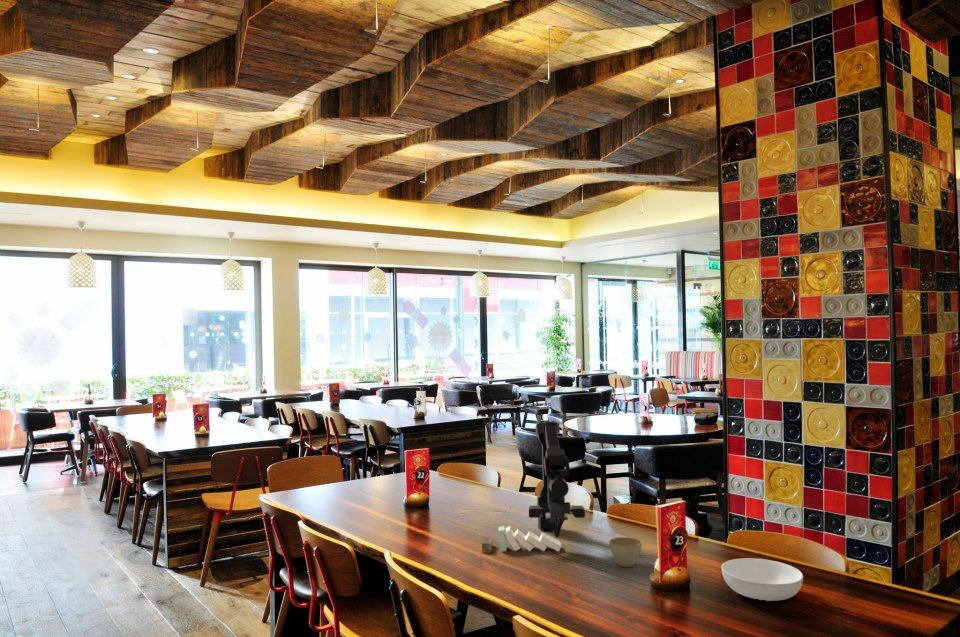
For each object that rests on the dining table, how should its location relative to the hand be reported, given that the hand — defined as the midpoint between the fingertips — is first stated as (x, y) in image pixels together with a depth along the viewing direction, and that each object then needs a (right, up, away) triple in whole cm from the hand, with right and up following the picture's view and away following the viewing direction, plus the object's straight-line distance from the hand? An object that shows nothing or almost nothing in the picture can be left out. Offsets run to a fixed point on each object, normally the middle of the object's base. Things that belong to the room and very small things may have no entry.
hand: (556, 537), depth 238 cm
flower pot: (+20, -4, -16) cm, 26 cm away
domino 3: (-4, -3, 0) cm, 5 cm away
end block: (-23, -4, +2) cm, 24 cm away
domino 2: (-9, -3, +1) cm, 9 cm away
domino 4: (+1, -3, 0) cm, 3 cm away
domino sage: (-18, -4, +1) cm, 18 cm away
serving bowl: (+52, -3, -44) cm, 68 cm away
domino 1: (-13, -4, +1) cm, 14 cm away
